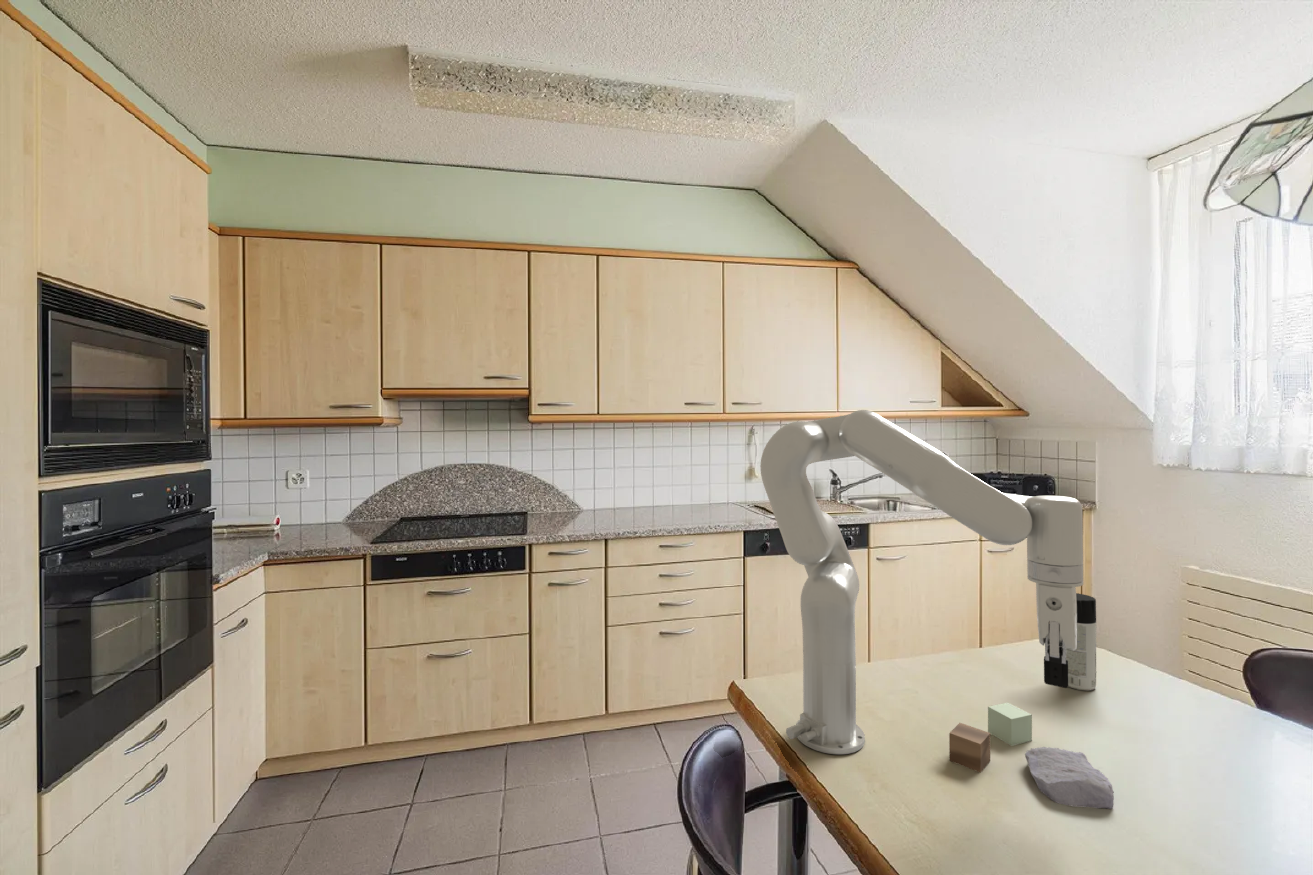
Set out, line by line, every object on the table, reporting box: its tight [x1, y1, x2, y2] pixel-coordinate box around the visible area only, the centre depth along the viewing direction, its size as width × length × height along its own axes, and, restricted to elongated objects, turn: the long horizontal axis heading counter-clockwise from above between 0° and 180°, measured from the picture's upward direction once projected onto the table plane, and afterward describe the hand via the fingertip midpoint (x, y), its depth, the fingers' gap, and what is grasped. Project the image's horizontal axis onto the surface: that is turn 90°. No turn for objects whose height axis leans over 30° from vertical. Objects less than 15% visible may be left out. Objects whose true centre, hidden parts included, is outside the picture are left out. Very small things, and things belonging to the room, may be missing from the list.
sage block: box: [987, 702, 1033, 747], centre depth 109 cm, size 5×5×5 cm
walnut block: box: [948, 722, 991, 773], centre depth 101 cm, size 5×5×5 cm
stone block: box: [1024, 746, 1115, 810], centre depth 95 cm, size 12×5×10 cm
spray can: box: [1066, 592, 1097, 692], centre depth 130 cm, size 7×7×20 cm
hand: (1056, 683), depth 95 cm, fingers closed
